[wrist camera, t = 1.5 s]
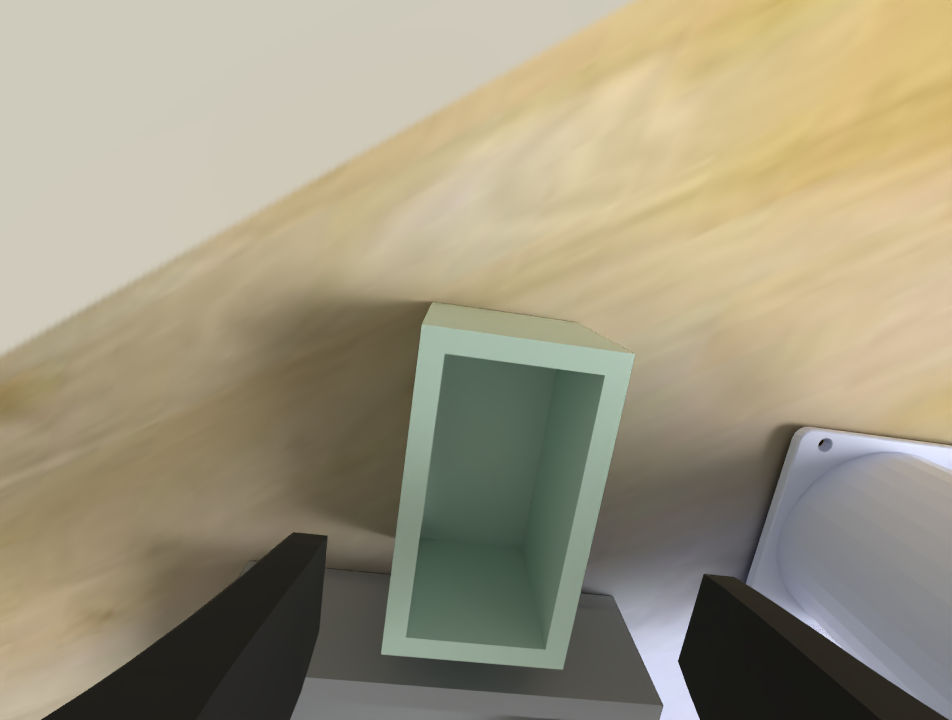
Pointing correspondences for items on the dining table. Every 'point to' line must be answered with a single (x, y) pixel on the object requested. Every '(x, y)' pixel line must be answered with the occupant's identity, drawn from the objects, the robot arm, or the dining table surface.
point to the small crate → (501, 485)
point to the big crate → (466, 669)
